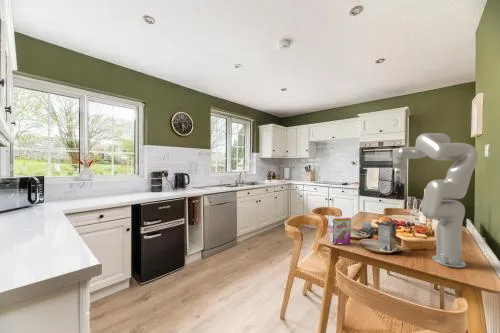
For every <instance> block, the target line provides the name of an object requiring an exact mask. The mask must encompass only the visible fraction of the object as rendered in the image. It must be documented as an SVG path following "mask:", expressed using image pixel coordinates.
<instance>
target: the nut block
mask: <svg viewBox="0 0 500 333" xmlns="http://www.w3.org/2000/svg"><path fill="white" fill-rule="evenodd" d="M361 224H362V226H361V227H362V230H363V231H368V232H370V231H371V227H372V222H371V221H363V222H361Z"/></svg>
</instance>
